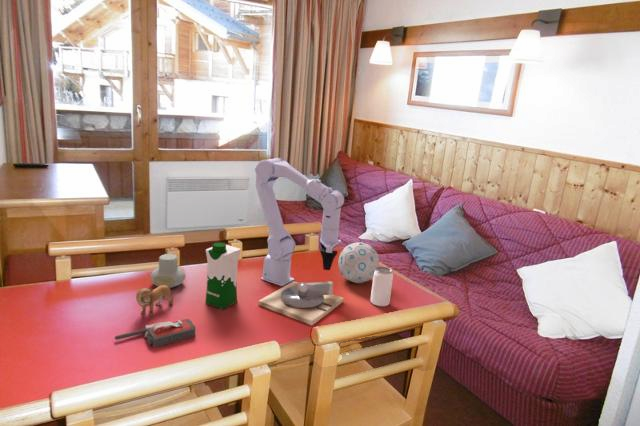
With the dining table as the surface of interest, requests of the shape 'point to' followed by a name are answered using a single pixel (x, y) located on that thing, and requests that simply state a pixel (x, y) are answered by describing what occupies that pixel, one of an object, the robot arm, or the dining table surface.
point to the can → (381, 286)
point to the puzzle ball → (358, 262)
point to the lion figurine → (152, 297)
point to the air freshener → (168, 272)
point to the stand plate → (302, 315)
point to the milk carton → (222, 275)
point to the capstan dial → (306, 295)
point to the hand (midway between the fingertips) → (326, 265)
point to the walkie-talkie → (165, 332)
